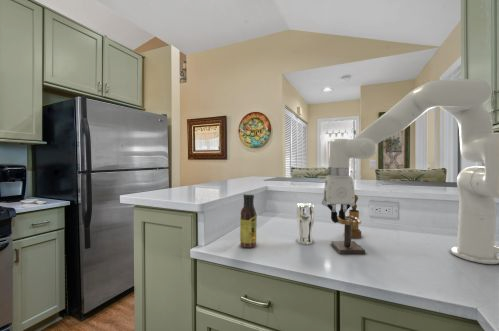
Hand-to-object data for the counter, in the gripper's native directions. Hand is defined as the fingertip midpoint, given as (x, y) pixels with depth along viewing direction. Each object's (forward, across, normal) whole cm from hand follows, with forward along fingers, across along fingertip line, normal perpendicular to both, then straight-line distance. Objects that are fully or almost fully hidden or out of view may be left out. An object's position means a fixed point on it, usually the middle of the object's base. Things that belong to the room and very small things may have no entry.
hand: (337, 221), depth 91 cm
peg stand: (+10, +4, 0) cm, 11 cm away
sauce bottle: (+11, -33, +4) cm, 35 cm away
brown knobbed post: (+11, +13, +15) cm, 22 cm away
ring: (-1, +4, 0) cm, 4 cm away
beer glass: (+11, -10, +8) cm, 17 cm away
